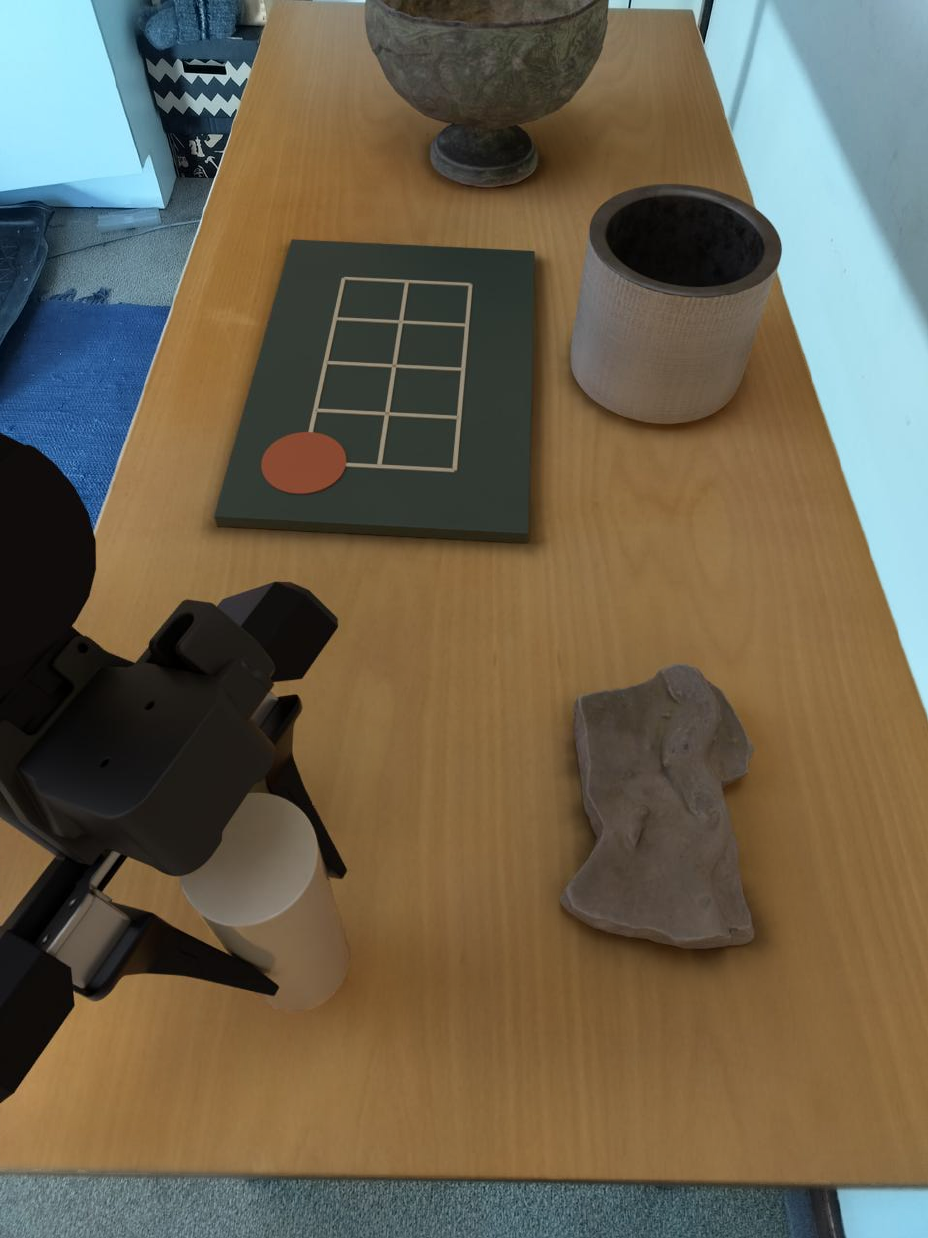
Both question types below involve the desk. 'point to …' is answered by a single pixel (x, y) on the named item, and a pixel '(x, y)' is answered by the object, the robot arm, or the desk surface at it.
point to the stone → (661, 812)
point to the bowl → (486, 73)
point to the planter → (671, 301)
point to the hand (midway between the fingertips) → (306, 931)
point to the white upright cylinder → (274, 902)
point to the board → (390, 396)
